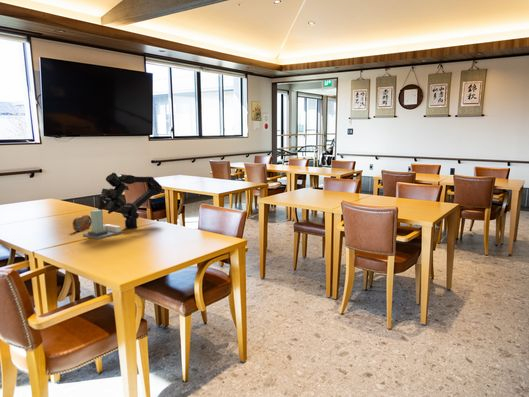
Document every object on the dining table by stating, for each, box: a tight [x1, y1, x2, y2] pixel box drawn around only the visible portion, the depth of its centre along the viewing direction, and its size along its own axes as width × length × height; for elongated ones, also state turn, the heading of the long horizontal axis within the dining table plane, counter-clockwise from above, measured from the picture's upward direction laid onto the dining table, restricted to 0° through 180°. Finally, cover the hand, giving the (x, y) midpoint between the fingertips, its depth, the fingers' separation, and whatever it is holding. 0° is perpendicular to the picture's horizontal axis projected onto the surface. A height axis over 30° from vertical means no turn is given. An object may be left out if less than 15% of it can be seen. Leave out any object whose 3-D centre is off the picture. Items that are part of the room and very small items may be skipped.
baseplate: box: [82, 223, 125, 240], centre depth 235 cm, size 18×14×4 cm
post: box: [90, 208, 104, 233], centre depth 231 cm, size 4×4×14 cm
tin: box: [72, 214, 92, 232], centre depth 245 cm, size 15×3×8 cm, turn 168°
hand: (103, 212), depth 234 cm, fingers open, 9 cm apart
